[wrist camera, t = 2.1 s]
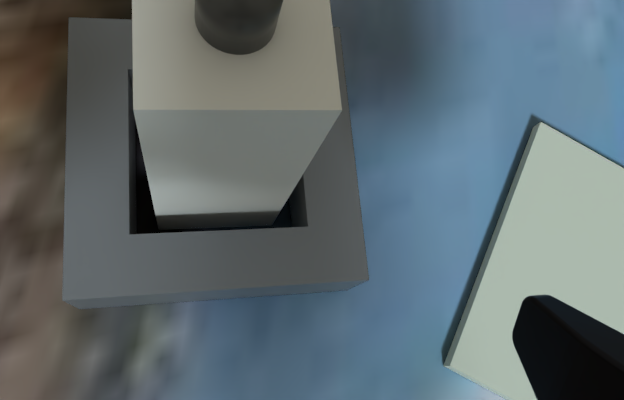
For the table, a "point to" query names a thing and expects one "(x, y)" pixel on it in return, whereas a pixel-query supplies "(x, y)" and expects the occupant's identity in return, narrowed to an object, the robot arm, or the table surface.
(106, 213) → the socket collar
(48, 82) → the table surface
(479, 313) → the rubber mat
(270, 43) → the plug
